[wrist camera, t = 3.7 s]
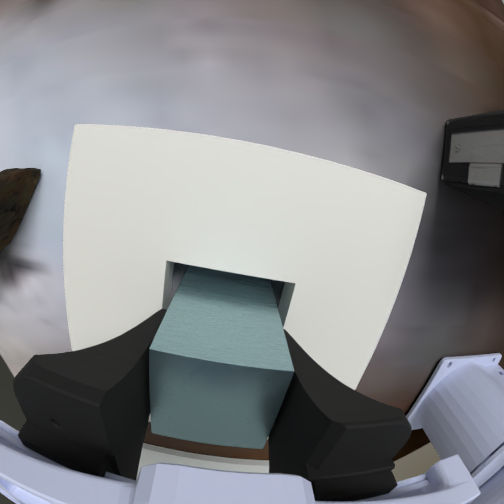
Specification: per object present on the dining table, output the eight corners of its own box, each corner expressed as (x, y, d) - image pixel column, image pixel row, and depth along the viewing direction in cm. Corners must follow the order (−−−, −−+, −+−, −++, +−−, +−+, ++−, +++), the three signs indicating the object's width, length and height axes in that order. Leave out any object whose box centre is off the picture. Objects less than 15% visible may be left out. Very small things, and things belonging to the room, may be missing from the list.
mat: (295, 460, 19) (296, 465, 18) (267, 501, 22) (267, 505, 21) (104, 431, 17) (102, 436, 17) (119, 479, 20) (118, 483, 20)
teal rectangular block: (270, 279, 14) (294, 371, 7) (254, 345, 15) (262, 448, 8) (189, 264, 14) (149, 348, 7) (181, 333, 15) (151, 433, 8)
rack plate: (405, 189, 13) (426, 193, 11) (319, 419, 17) (325, 439, 15) (95, 128, 12) (75, 123, 10) (93, 383, 16) (83, 401, 14)
